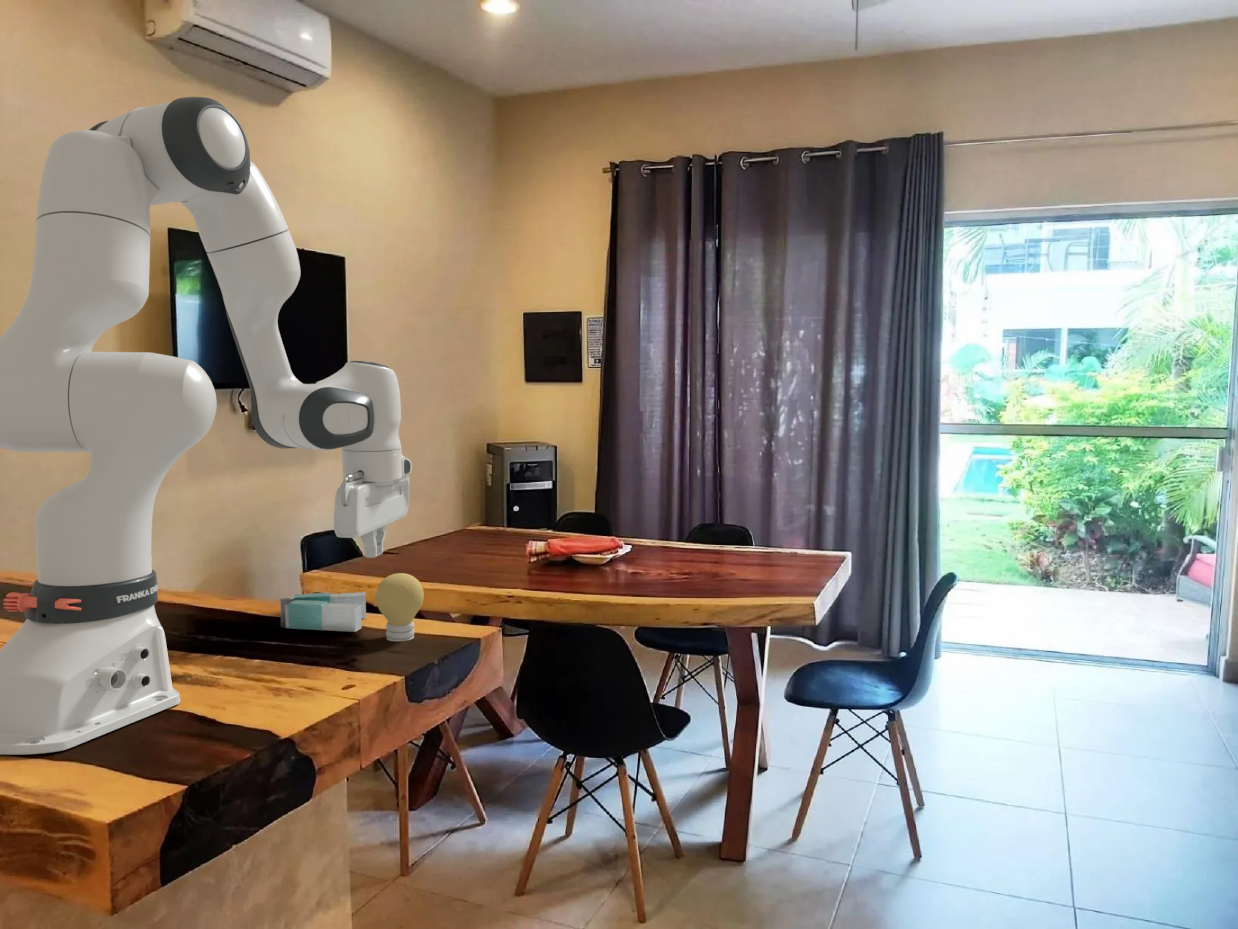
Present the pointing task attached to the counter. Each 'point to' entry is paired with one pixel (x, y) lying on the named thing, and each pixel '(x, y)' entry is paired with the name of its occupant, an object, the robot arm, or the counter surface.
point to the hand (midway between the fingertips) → (374, 555)
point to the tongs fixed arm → (320, 615)
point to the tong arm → (336, 599)
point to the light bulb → (399, 604)
